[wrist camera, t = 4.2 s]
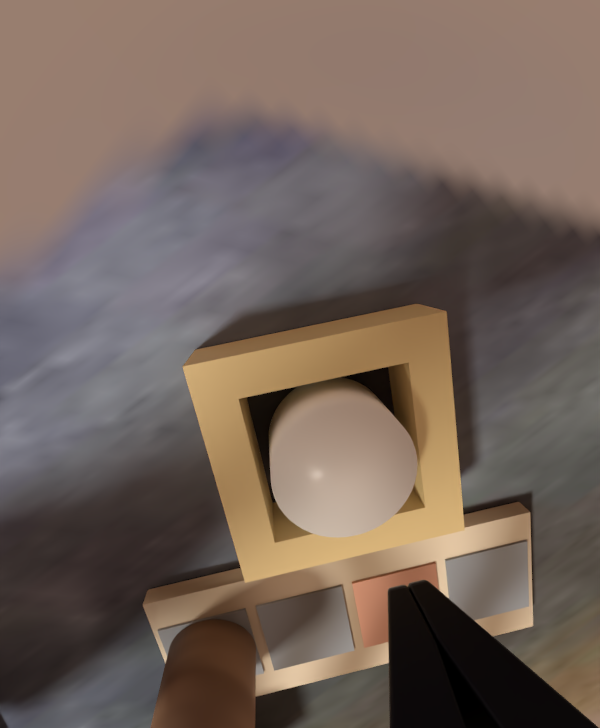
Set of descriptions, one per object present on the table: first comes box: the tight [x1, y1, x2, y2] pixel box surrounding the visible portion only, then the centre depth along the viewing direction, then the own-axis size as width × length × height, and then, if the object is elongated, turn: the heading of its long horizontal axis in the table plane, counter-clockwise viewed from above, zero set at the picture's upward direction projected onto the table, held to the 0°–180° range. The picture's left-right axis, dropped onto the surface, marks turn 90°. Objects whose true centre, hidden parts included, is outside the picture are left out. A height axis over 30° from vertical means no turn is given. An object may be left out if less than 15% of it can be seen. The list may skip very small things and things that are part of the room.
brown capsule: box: [151, 619, 256, 728], centre depth 15 cm, size 4×4×5 cm
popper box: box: [183, 304, 465, 583], centre depth 15 cm, size 9×9×2 cm
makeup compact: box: [143, 502, 533, 697], centre depth 18 cm, size 18×7×1 cm, turn 101°
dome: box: [269, 377, 417, 538], centre depth 14 cm, size 5×5×3 cm
